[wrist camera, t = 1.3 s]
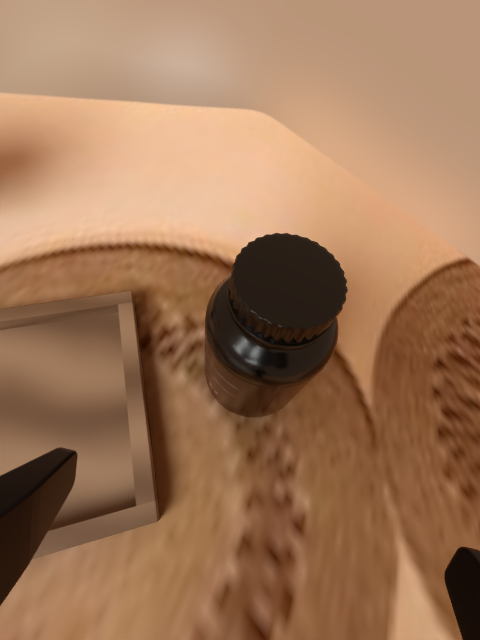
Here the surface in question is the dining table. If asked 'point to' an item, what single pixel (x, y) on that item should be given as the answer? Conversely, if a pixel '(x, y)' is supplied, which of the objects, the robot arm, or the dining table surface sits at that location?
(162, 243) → the dining table surface
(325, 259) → the supplement bottle
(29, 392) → the tray
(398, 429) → the dining table surface
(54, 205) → the dining table surface
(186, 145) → the dining table surface
